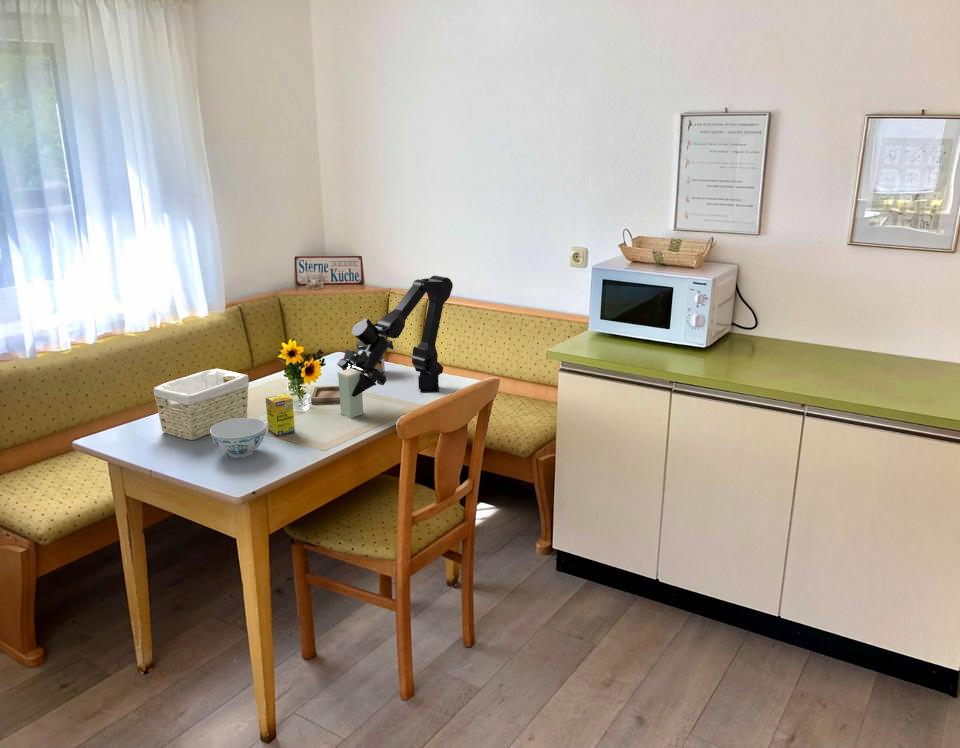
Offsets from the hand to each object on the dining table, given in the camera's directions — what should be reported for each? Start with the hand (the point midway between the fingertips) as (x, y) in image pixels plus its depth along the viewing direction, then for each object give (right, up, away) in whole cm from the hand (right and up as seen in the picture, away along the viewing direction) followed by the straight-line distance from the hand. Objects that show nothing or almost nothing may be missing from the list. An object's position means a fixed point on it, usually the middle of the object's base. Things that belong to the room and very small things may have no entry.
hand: (347, 394), depth 247 cm
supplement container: (+1, +6, +42) cm, 43 cm away
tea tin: (+1, -6, +3) cm, 7 cm away
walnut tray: (-8, -2, +19) cm, 20 cm away
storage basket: (-42, -10, -6) cm, 43 cm away
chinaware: (-25, -16, -26) cm, 40 cm away
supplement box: (-18, -11, -11) cm, 24 cm away
